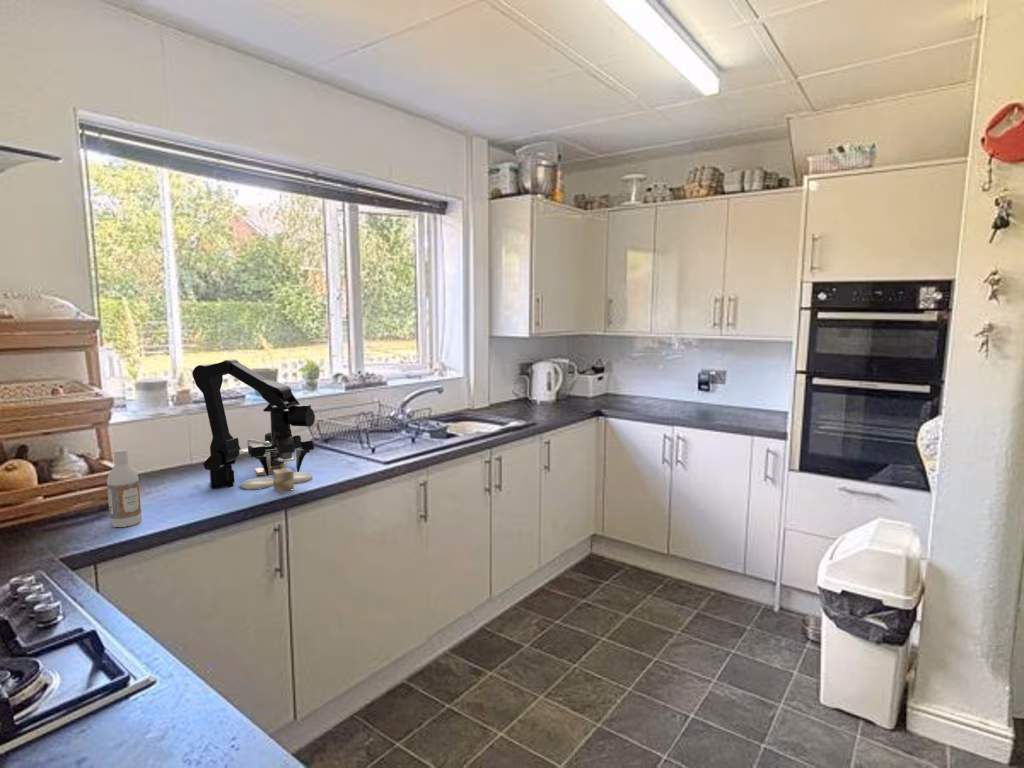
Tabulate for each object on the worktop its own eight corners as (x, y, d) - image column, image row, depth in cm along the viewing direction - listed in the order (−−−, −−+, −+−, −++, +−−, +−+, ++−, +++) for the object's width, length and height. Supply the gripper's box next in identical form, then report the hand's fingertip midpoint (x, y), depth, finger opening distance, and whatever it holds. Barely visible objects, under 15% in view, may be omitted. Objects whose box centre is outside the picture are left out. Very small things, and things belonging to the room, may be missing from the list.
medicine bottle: (263, 468, 210) (261, 435, 208) (266, 463, 217) (264, 431, 215) (284, 466, 212) (282, 434, 210) (286, 461, 219) (285, 430, 217)
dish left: (244, 491, 183) (244, 488, 183) (238, 483, 191) (238, 480, 191) (277, 486, 188) (277, 483, 188) (271, 478, 197) (271, 475, 197)
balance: (241, 478, 197) (239, 441, 196) (238, 474, 202) (236, 438, 201) (297, 470, 207) (296, 435, 206) (293, 466, 212) (291, 432, 211)
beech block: (277, 492, 182) (276, 473, 182) (273, 488, 186) (272, 470, 186) (293, 489, 185) (293, 471, 184) (290, 485, 189) (289, 467, 188)
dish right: (284, 485, 190) (284, 482, 189) (277, 477, 198) (277, 474, 198) (315, 480, 195) (315, 477, 195) (307, 473, 203) (307, 470, 203)
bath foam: (119, 530, 150) (113, 454, 148) (105, 525, 154) (98, 451, 151) (147, 521, 156) (141, 449, 154) (132, 517, 160) (126, 446, 157)
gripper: (253, 433, 171) (256, 484, 173) (318, 426, 182) (319, 475, 184) (246, 427, 180) (249, 476, 182) (308, 420, 191) (310, 467, 193)
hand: (282, 473), depth 185 cm, fingers open, 9 cm apart
